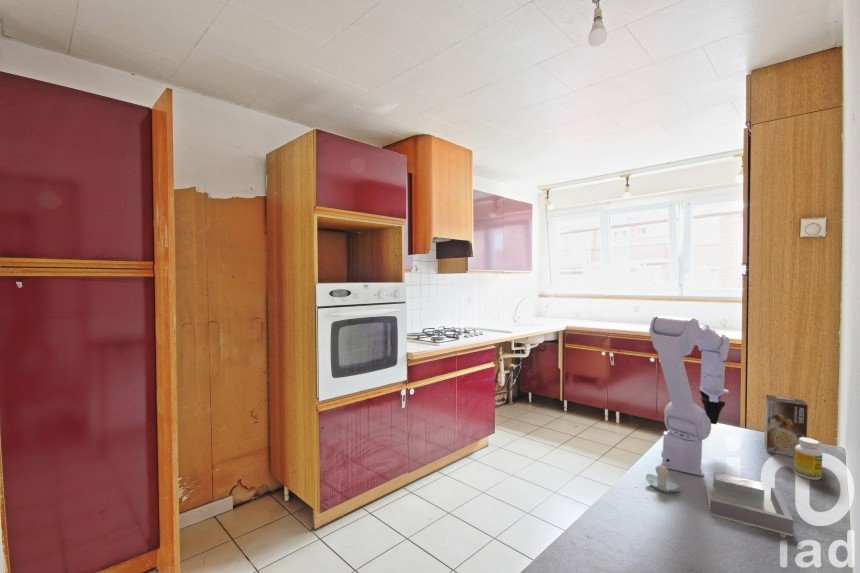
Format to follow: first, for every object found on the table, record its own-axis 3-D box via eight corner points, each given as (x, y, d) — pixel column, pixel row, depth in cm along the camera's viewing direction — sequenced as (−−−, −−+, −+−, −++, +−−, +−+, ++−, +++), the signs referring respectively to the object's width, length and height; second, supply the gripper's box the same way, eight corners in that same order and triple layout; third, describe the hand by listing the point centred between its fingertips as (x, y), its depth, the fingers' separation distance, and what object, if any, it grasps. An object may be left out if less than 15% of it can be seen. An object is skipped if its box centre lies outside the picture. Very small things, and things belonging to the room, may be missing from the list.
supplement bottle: (797, 468, 112) (799, 434, 112) (823, 476, 108) (825, 441, 107) (790, 473, 109) (792, 438, 109) (817, 482, 105) (819, 446, 104)
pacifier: (653, 479, 106) (642, 485, 102) (654, 455, 106) (644, 461, 102) (684, 491, 100) (674, 499, 97) (685, 466, 100) (675, 473, 97)
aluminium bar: (759, 503, 94) (760, 482, 94) (763, 512, 91) (764, 490, 91) (712, 492, 99) (713, 472, 99) (714, 500, 95) (715, 479, 95)
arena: (710, 514, 90) (710, 499, 90) (705, 485, 103) (705, 472, 102) (792, 536, 83) (793, 520, 83) (776, 502, 95) (777, 488, 95)
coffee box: (802, 452, 122) (805, 399, 122) (806, 460, 117) (809, 405, 116) (763, 444, 128) (765, 394, 127) (765, 451, 122) (767, 399, 122)
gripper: (732, 382, 111) (730, 430, 112) (726, 370, 124) (724, 413, 124) (701, 378, 115) (699, 425, 116) (698, 367, 127) (697, 409, 128)
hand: (710, 419), depth 120 cm, fingers open, 7 cm apart
